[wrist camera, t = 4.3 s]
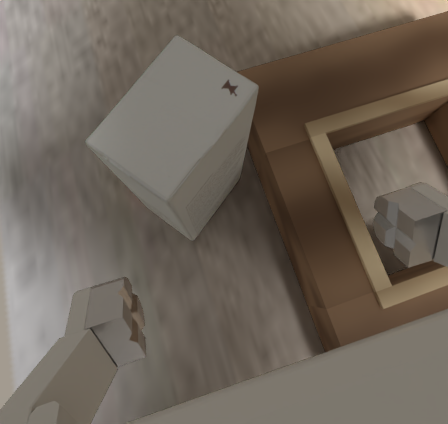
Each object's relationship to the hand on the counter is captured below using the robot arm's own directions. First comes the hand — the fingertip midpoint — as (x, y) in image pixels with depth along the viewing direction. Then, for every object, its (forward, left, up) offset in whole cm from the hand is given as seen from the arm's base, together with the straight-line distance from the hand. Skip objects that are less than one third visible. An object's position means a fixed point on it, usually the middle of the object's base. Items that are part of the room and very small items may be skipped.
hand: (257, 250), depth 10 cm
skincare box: (+6, +1, -13) cm, 15 cm away
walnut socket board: (+1, -13, -13) cm, 18 cm away
